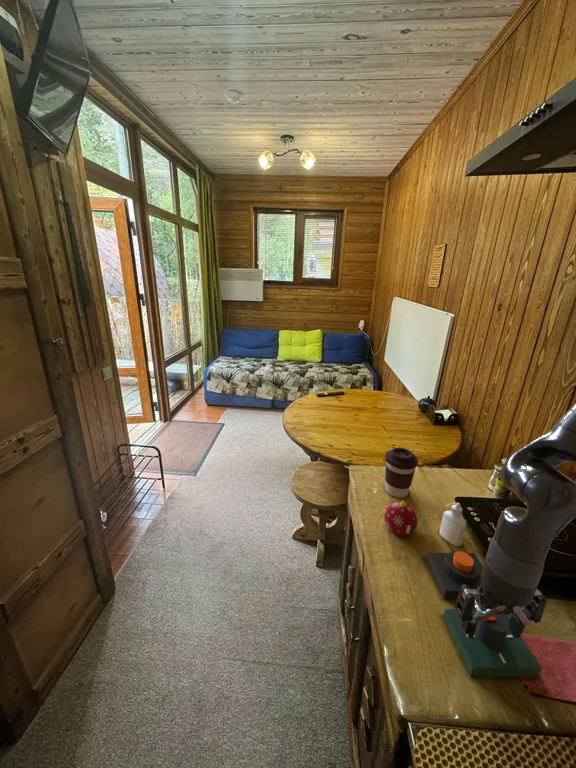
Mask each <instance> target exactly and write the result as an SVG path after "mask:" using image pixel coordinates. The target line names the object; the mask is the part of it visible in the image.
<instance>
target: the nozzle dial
mask: <svg viewBox="0 0 576 768" xmlns="http://www.w3.org/2000/svg"><path fill="white" fill-rule="evenodd" d="M483 610H484V611H486V610H487V608H486V607H484V608H483ZM476 631H477V634H478V636H479V638H480V639H481V641H482V642H483V643H485V644H486V645H487V646H489V647H491V648H493V649H500V648H502V647H503V645H504V642H505V639H506V636H507V634H508V631H509V623H508V621H507V619H506V618H505V617H504V616H503V615H502V614H498V615H493V616H492V617H491V618H489V619H488V620H485V619H482V620H480V621H479V622H478V625H477V628H476Z"/></svg>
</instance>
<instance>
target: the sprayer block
mask: <svg viewBox="0 0 576 768" xmlns="http://www.w3.org/2000/svg"><path fill="white" fill-rule="evenodd" d="M455 552H456V551H450V552H425V555H424V562H425V564H426V566H427V568H428V569H429V571H430V574H431V576H432V578H433V580H434V582H435V585H436V586H437V588H438V590H439V592H440V594H441V597H442V599H445V600H446V599H448V600H451V599H452V600H453V599H454V600H455V599H456V600H457V597H458V595H459V592H460V589H461V586H462V585H467V586H468V587H469V589H473V590H477V589H478V587H479V586H480V585H481V584H482V579H481V572H482V569H483V565H484V564H482V563H481V561H480V559H479V558H478V557H477V555H476V553H474V552H465V553H466V554H468V555H469V556H471V557H472V559H473V561H474V565H473V568H472V571H471V572H470V573H464V572H462V571H459V570H458V569H457V568H455V567H454V565H453V557H454V553H455Z"/></svg>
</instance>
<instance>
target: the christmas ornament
mask: <svg viewBox="0 0 576 768" xmlns="http://www.w3.org/2000/svg"><path fill="white" fill-rule="evenodd" d="M384 522H385V524H386V527H387V528H388V530H390V532H392V533H393V534H395V535H397V536H403V537H405V536H409V535H411V534H412V533H414V532H415V530H416V529H417V526H418V516H417V513H416V511H415V510H414V509H413V507H412V506H410V504H408V503H406V502H405V500H401V501H394V502H391V503H390V504H388V506H387V507H386V508H385V511H384Z"/></svg>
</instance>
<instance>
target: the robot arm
mask: <svg viewBox="0 0 576 768" xmlns="http://www.w3.org/2000/svg"><path fill="white" fill-rule="evenodd" d="M567 462H574V463H576V402H575V403H573V405H572V406H571V407H570V408H569V409H568V410H567V411H566V412H565V414H564V415H563V416H562V417H561V418H560V419H559V420H558V421H557V422H556V423H555V424H554V426H553V427H552V428H551V429H550V430H548V431H547V432H546V433H544V434H542V435H540V436H539V437H537V438H535V439H534V440H532V441H531V442H529V443H527V445H524V446H523V447H522V448H520V449H518V450H516V451H515V452H514V453H513V454H511V455H510V456H508V458H507V459H506V460H505V461H504V463H503V465H502V467H501V470H500V481H501V482H502V484H503V486H504V487H505V488H506V489H507V490H508V491H509V492H510V493H511V494H513V496H515V497H516V498H517V499H518V500H519V501H520V502H521V503H522V504H524V506H526V508H525V507H522V506H515V505H513V506H508V507H505V508H504V509H503V510H502V511H501V513H500V515H499V517H498V520H497V523H496V526H495V527H496V528H495V531H494V534H493V537H492V538H491V540H490V542H489V544H488V545H489V546H488V548H487V552H486V555H485V558H484V562H483V564H482V565H483V569H482V572H481V579H482V584H481V585H480V586H479V587H478V589H477V590H473V589H469V587H468V586H467V585H462V586H461V589H460V592H459V595H458V597H457V599H456V601H455V603H454V610H457V612H458V614H459V616H460V618H461V620H462V627H463V629H464V631H465V633H466V634H467V635H468V637H474V633H475V630H476V627H477V623H478V622H479V621H480V620H482V619H485V620H488V619H489V618H491V617H492V616H493V615H498V614H505V615H507V616H510V617H509V619H510V620H509V630H510V632H511V633H512V635H513V636H514V638H520V636H522V634H524V631H525V628H526V626H529V625H530V624H531V622H533V623H535V624H539V623H541V621H542V618H543V614H544V611H545V609H546V605H547V603H548V602H547V601H548V600H547V599H546V597H545V595H544V594H543V593H542V592H541V591H540V590H539V589H538V586H539V583H540V581H541V578H542V576H543V572H544V569H545V562H546V558H547V555H548V553H549V550H550V547H551V544H552V542H553V540H554V539H555V538H556V537H557V536H558V535H559V534H560V533H561V532H562V531H563V530H564V529H565V527H566V526H567V525H568V524H570V523H571V522H572V521H573V519H575V518H576V482H575V481H574V480H573V479H571V478H570V477H568V476H567V475H566V474H564V473H562V472H561V471H559V470H558V469H556V467H558V466H560V465H562V464H565V463H567ZM481 602H482V604H483V605H484V606H485V607H484V608H487V610H486V611H484V610H483V609H484V608H483V607H482V604H481ZM473 610H477V614H475V615H474V614H473V612H472V611H473Z"/></svg>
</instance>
